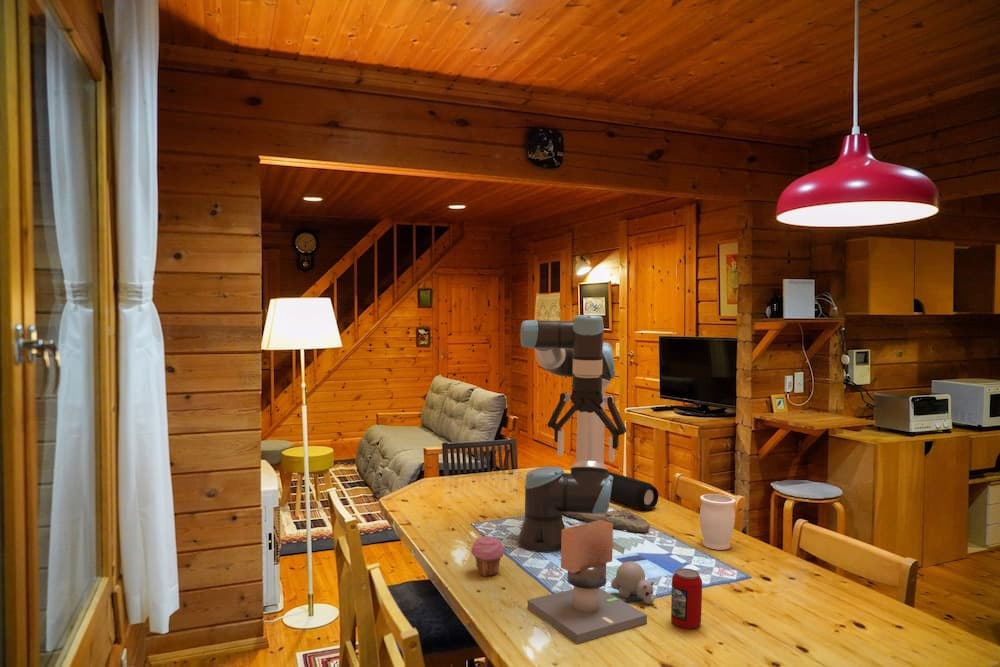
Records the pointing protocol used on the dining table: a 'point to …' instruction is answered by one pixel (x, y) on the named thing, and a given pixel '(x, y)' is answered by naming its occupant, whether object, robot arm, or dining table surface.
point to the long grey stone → (615, 519)
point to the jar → (717, 520)
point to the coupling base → (586, 613)
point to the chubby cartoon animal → (633, 582)
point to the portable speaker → (633, 492)
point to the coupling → (587, 553)
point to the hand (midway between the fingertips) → (585, 458)
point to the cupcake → (487, 554)
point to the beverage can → (686, 598)
